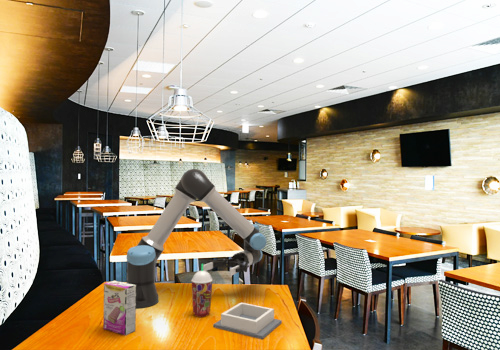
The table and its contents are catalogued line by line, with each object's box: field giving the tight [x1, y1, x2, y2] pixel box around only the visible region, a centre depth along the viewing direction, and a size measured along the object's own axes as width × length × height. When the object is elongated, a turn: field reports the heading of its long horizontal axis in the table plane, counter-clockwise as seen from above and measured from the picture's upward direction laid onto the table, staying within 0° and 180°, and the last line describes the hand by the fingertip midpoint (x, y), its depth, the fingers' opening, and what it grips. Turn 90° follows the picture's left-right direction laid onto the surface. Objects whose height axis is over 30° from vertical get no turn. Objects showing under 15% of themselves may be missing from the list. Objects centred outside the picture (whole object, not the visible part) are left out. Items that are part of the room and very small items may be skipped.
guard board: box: [212, 302, 283, 340], centre depth 135 cm, size 20×16×5 cm
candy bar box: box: [102, 280, 137, 336], centre depth 129 cm, size 11×5×16 cm, turn 63°
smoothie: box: [190, 263, 214, 318], centre depth 145 cm, size 8×8×20 cm
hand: (216, 270), depth 153 cm, fingers open, 13 cm apart
